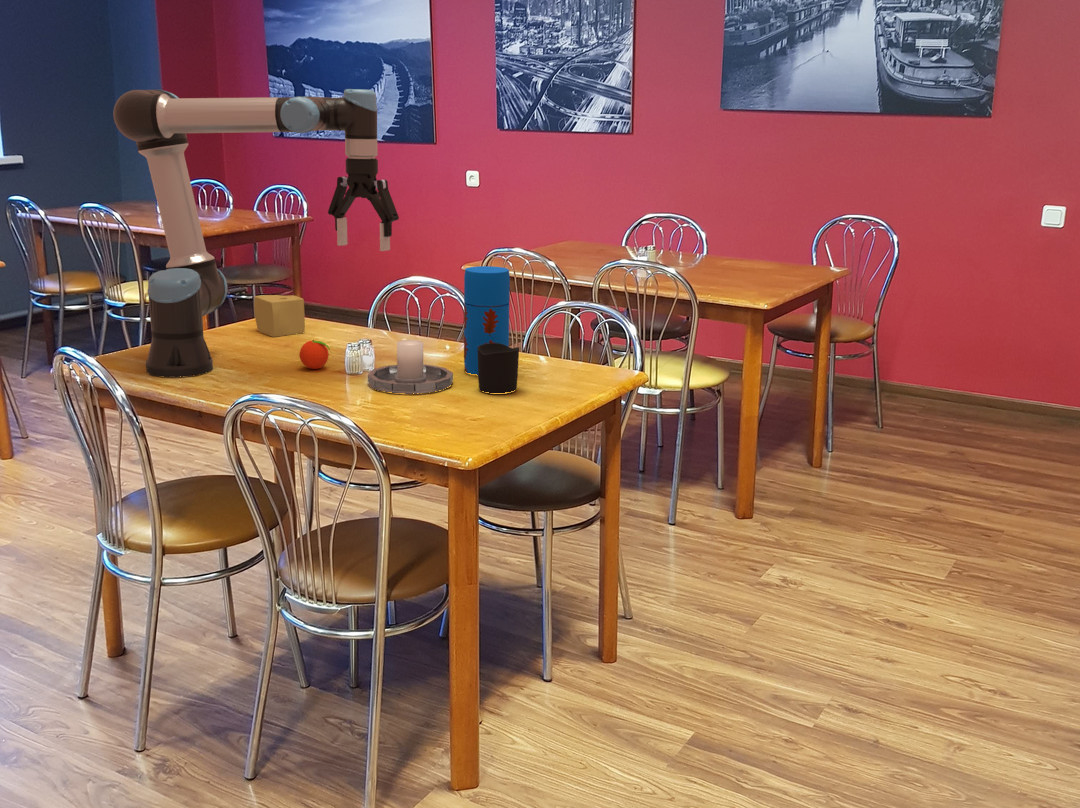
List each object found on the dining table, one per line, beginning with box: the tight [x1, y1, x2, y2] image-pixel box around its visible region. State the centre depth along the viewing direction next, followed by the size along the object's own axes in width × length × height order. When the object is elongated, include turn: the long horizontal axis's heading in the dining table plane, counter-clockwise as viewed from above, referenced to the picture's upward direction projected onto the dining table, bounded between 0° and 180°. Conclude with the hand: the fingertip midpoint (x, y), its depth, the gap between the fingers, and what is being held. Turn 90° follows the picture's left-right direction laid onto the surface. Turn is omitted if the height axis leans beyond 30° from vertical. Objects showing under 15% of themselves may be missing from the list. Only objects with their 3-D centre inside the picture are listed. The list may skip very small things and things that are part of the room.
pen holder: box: [477, 343, 520, 393], centre depth 250 cm, size 9×9×10 cm
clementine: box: [299, 339, 332, 370], centre depth 266 cm, size 8×7×7 cm
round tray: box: [367, 363, 454, 395], centre depth 255 cm, size 19×19×2 cm
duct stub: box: [395, 339, 426, 383], centre depth 253 cm, size 7×7×9 cm
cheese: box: [253, 294, 306, 338], centre depth 304 cm, size 10×11×10 cm
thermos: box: [463, 265, 511, 375], centre depth 264 cm, size 11×11×25 cm
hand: (363, 247), depth 265 cm, fingers open, 13 cm apart
